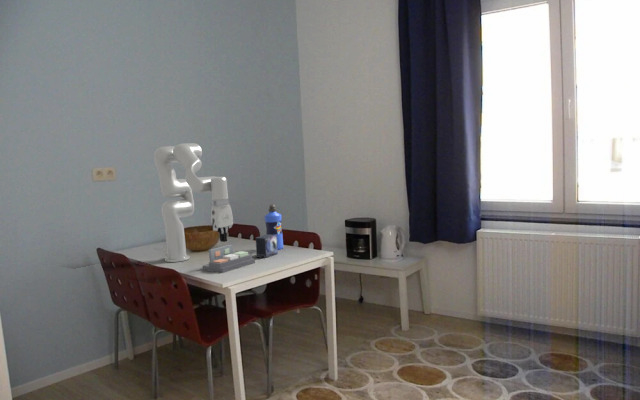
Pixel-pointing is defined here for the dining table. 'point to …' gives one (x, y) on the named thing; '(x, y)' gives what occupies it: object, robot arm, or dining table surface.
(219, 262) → the terracotta key
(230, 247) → the keypad
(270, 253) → the small box
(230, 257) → the grey key
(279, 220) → the water bottle
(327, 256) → the dining table surface
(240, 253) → the sage key
